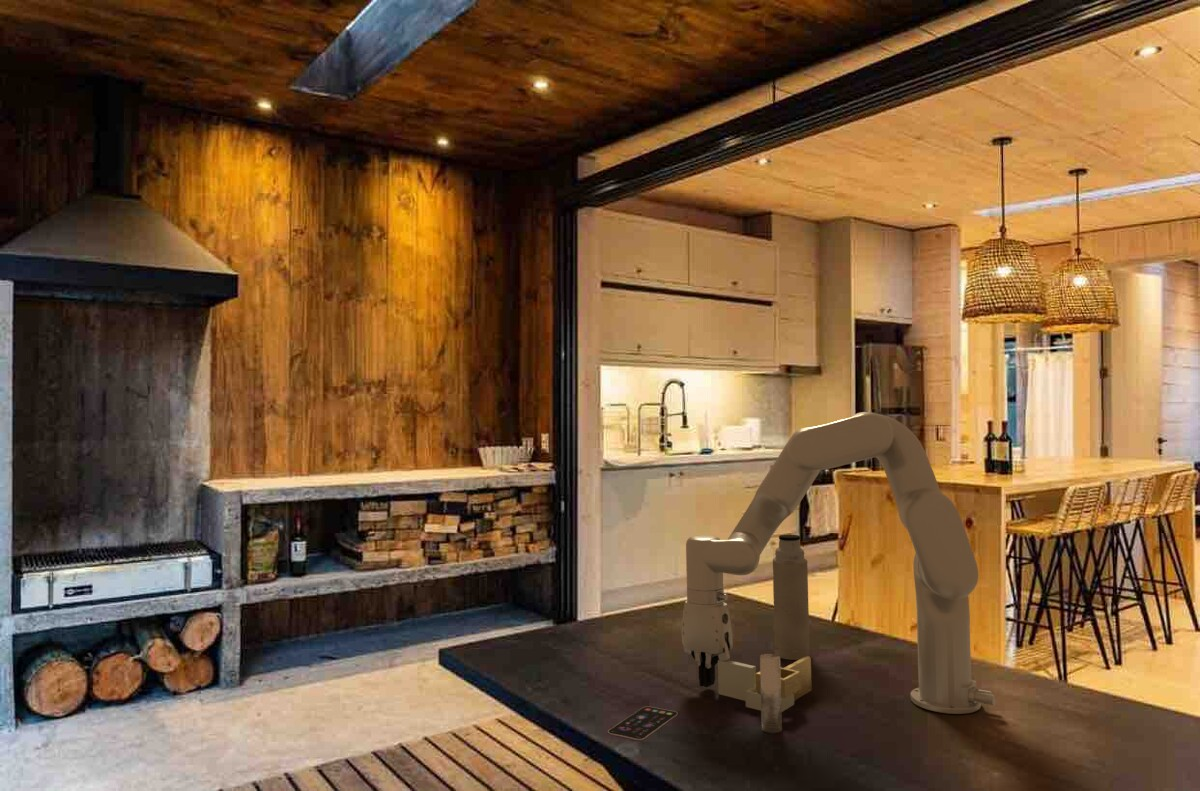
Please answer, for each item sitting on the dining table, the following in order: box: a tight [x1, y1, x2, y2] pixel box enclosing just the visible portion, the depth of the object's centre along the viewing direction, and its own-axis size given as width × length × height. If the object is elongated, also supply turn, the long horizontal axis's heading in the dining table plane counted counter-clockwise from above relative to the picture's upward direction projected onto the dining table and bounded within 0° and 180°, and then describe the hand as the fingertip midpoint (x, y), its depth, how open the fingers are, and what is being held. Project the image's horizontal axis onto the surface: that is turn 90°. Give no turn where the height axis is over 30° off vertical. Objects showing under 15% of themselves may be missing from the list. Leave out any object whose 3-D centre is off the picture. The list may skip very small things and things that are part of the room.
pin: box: [759, 653, 783, 734], centre depth 146 cm, size 4×4×13 cm
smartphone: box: [607, 706, 679, 742], centre depth 150 cm, size 8×1×15 cm
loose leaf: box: [717, 659, 795, 713], centre depth 160 cm, size 15×7×7 cm, turn 49°
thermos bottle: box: [772, 534, 811, 661], centre depth 190 cm, size 8×8×28 cm
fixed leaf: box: [756, 656, 812, 702], centre depth 160 cm, size 6×16×7 cm, turn 139°
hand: (707, 684), depth 167 cm, fingers closed
